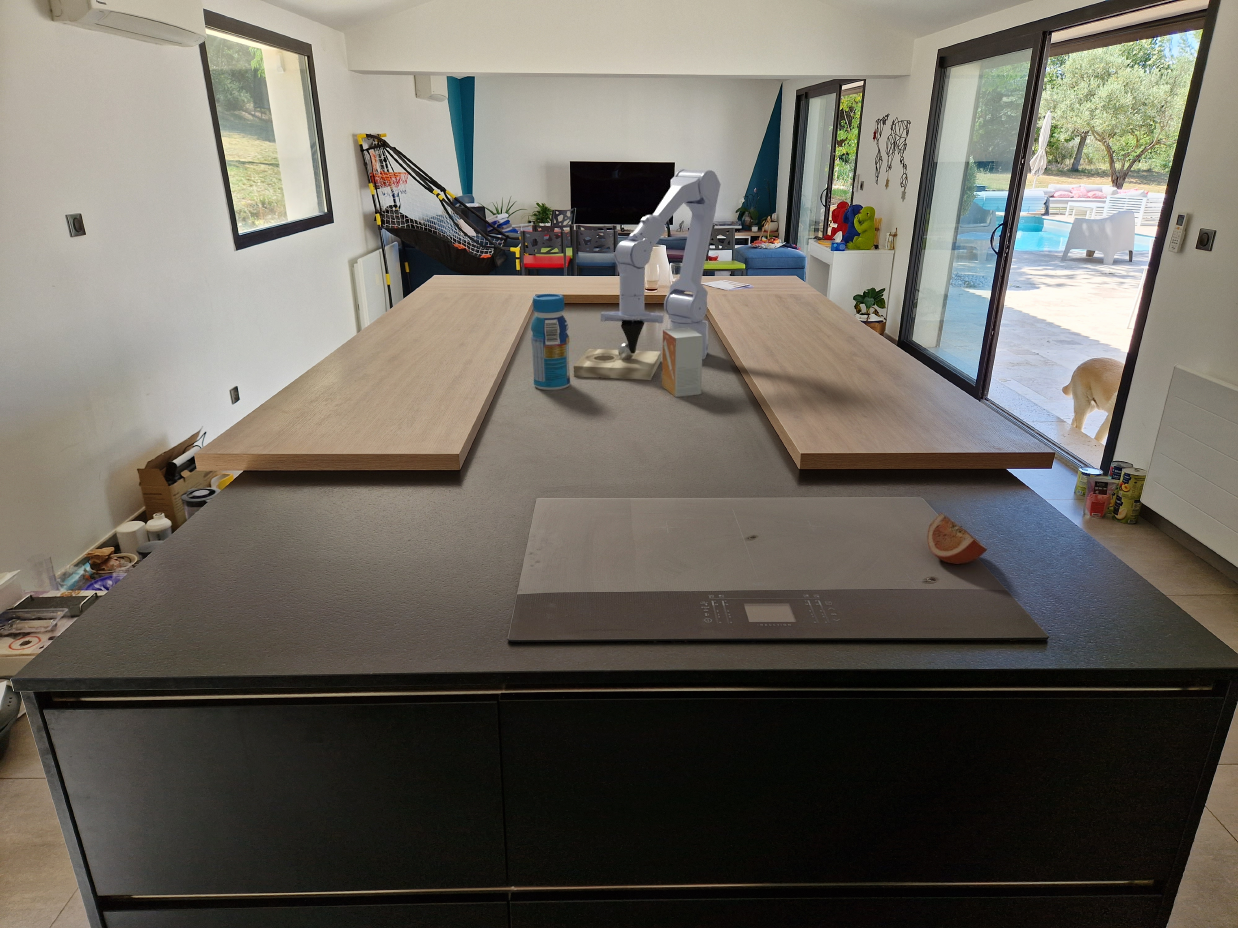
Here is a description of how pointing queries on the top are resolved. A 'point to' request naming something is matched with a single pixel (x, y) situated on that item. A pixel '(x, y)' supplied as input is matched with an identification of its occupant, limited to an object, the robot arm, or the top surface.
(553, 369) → the beverage bottle
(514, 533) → the top surface
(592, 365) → the hole plate
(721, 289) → the top surface
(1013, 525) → the top surface
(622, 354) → the steel ball
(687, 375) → the small box
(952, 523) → the fruit slice
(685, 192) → the robot arm
